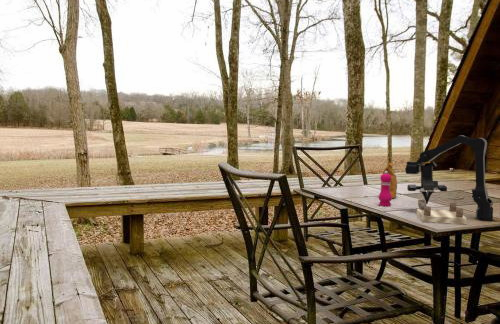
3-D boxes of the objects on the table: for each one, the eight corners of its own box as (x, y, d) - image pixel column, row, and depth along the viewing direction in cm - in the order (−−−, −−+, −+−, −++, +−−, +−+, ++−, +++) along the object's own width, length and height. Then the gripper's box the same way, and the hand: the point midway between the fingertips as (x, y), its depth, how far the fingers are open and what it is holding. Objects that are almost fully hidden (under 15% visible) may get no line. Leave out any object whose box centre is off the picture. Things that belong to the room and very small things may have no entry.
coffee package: (398, 196, 270) (400, 162, 268) (394, 199, 259) (395, 164, 257) (383, 195, 275) (384, 162, 273) (378, 198, 264) (379, 163, 262)
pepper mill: (388, 204, 244) (390, 170, 242) (393, 206, 237) (394, 171, 235) (376, 204, 244) (377, 170, 242) (380, 206, 236) (382, 171, 235)
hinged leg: (426, 209, 212) (426, 203, 211) (419, 209, 213) (420, 203, 212) (424, 205, 223) (424, 199, 223) (418, 205, 224) (418, 199, 224)
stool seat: (456, 216, 212) (457, 202, 211) (466, 224, 194) (466, 209, 193) (416, 214, 217) (417, 200, 216) (422, 222, 198) (422, 207, 198)
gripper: (409, 176, 214) (409, 206, 216) (449, 176, 210) (449, 207, 211) (407, 174, 225) (407, 202, 226) (444, 174, 220) (444, 203, 222)
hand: (426, 204), depth 221 cm, fingers closed
